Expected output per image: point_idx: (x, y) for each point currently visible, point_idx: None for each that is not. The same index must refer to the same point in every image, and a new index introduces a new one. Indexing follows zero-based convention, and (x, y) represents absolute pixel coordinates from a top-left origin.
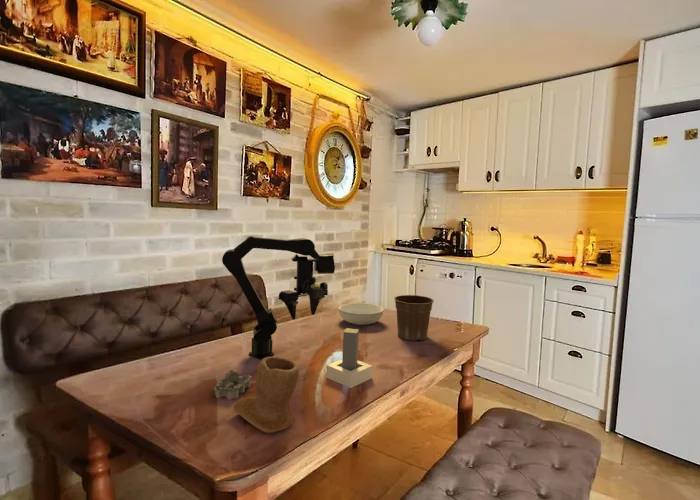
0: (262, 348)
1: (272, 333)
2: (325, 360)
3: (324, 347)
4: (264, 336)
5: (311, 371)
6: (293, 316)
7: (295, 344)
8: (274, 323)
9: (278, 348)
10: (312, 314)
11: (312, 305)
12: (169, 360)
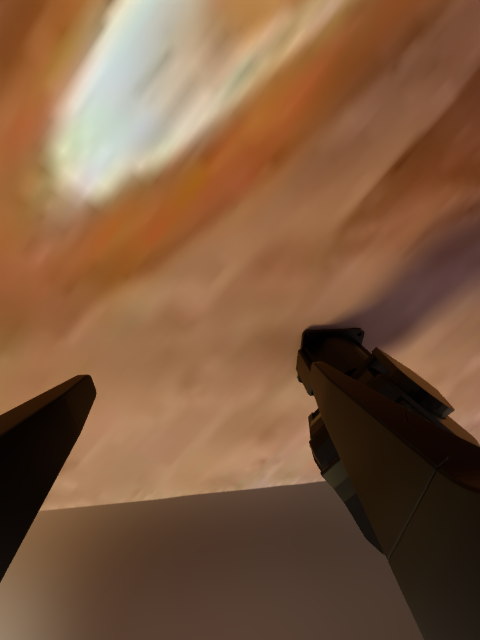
0: (360, 350)
1: (370, 368)
2: (197, 144)
3: (106, 273)
4: (403, 367)
5: (333, 84)
6: (344, 379)
7: (186, 361)
8: (411, 398)
9: (254, 364)
10: (92, 387)
11: (23, 481)
12: (477, 437)
